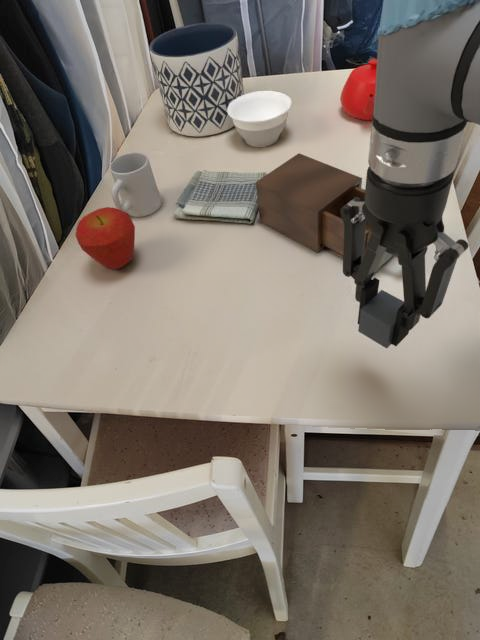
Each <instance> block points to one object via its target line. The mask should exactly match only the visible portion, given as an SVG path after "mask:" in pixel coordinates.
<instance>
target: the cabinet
mask: <svg viewBox="0 0 480 640" xmlns="http://www.w3.org/2000/svg"><path fill="white" fill-rule="evenodd" d="M362 183H363V177H360V176H358V175H355V174H353V173H350V172H348V171H345V170H343V169H340V168H338V167H335V166H333V165H330V164H327V163H325V162H323V161H320V160H318V159H315V158H312V157H309V156H308V155H305V154H302V153H297V154H295V155H294V156H292V157H290V158H289V159H288V160H286V161H285V162H283V163H282V164H280V165H278V166H277V167H276V168H274V169H273V170H271V171H269V172H268V173H267V175H266V176H264V177H263V178H261V179H260V180H258V181H257V182H256V190H257V199H258V215H259V222H260V223H261V224H263V225H265V226H267V227H268V228H270V229H273V230H274V231H276V232H277V233H280V234H282V235H284V236H285V237H287V238H289V239H291V240H292V241H295V242H297V243H298V244H301V245H303V246H304V247H305V248H307V249H310V250H311V251H313V252H315V253H320V252H321V251H322V250H323V249H325V248H326V246H324V245H322V244H320V239H321V213H322V212H323V211H324V210H326V209H327V208H328V207H330V206H331V205H332V204H334V203H335V202H336V201H337V200H339V199H340V198H341V197H343V196H344V195H345V194H347V193H348V192H349V191H350V190H352V189H353V188H354V187H356V186H357V187H359V188H362V185H363V184H362Z"/></svg>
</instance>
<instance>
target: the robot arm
mask: <svg viewBox="0 0 480 640" xmlns="http://www.w3.org/2000/svg"><path fill="white" fill-rule="evenodd" d="M382 2H383V3H382V9H381V16H380V22H379V27H378V29H377V53H376V59H377V70H376V88H375V102H374V109H373V117H372V120H371V126H370V137H369V148H368V149H369V150H368V158H367V159H368V161H367V163H368V167H367V170H366V177H365V189H364V190H365V202H362V200H361V199H360V198H359V197H355V198H354V199H352V200H351V201H350V202H349V203H347V204H346V205H345V206H344V207H342V208H341V209H340V213H341V216H342V220H343V223H344V246H343V255H342V273H343V275H344V276H345V277H347V278H350V277H351V278H352V279H353V281H354V284H355V294H354V298H355V301H356V302H358V303H359V305H358V306H359V307H358V318H357V324H358V325H359V320H360V310H361V309H362V308H363V307H364V306H365V305H366V304H367V303H368V302H369V301H370V300H371V299H372V298H373V297H374V296H375V295H377V294H378V293H379V287H380V281H381V280H380V279H379V278H377V277H375V276H376V274H378V272H379V271H378V270H377V268H378V266H379V264H380V262H381V259H382V257H383V255H384V253H385V251H386V248H389V249H392V250H394V251H395V252H396V253H398V257H397V261H398V265H399V266H401V277H402V278H401V279H402V292H403V301H404V304H403V305H402V306H401V307H400V308H399V309H398V311H397V316H396V321H395V327H394V332H393V337H392V341H391V345H392V346H394V347H397V346H398V345H399V344H400V343H402V341H403V340H404V339H406V337H407V336H408V335H409V333H410V331H411V330H412V329H414V327H416V325H417V324H418V323H419V322H420V319H421V317H422V318H424V319H429V318H431V317H432V316H433V315H434V313H436V311H437V310H438V309H439V308H440V307H441V306H442V305H443V303H444V300H445V297H446V294H447V290H448V288H449V285H450V282H451V279H452V276H453V273H454V270H455V267H456V265H457V261H458V259H459V258H460V257H461V256H462V255H463V254H464V253H465V252H466V251H467V250H468V248H469V243H468V242H467V240H465V239H457V240H456V241H455V240H454V239H452V237H450V236H449V235H448V234H446V233H445V225H444V221H443V215H444V212H445V209H446V207H447V203H448V200H449V196H450V195H449V194H450V192H451V187H452V183H453V180H454V176H455V175H454V170H455V169H456V167H457V165H458V161H459V158H460V153H461V150H462V149H461V148H462V144H463V139H464V136H465V132H466V127H467V124H468V123H471V124H472V123H473V124H476V125H479V126H480V0H383V1H382ZM366 221H367V223H368V225H369V227H370V229H371V232H372V233H371V236H370V238H369V241H368V243H367V246H366V247H367V250H366V253H365V255H364V258H363V254H364V241H365V229H366ZM432 244H433V245H434V246H435V251H434V256H433V259H434V260H435V263H434V264H433V266H432V269H431V271H430V275H429V279H428V282H427V283H426V280H427V279H426V254H427V253H428V247H429V246H431V245H432ZM426 284H427V285H426Z"/></svg>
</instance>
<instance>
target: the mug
mask: <svg viewBox="0 0 480 640" xmlns="http://www.w3.org/2000/svg"><path fill="white" fill-rule="evenodd" d="M109 170H110V172H111V176H112V178H113V181H114V184H113V185H112V187H111V198H112V201H113V203H114V206H115V208H116V209H119V210H121V211H124V212H126V213H128V215H129V216H131V217H134V218H143V217H147V216H150V215H153V214H154V213H155V212H157V211H158V210H159V209H160V207H161V206H162V203H163V202H162V197H161V195H160V191H159V188H158V186H157V182H156V178H155V176H154V172H153V170H152V166H151V163H150V159H149V157H148V156H147V155H146V154H145V153H142V152H128V153H125V154H122V155H119V156H118V157H116V158H114V159H113V161H111V163H110V165H109ZM120 199H121V201H120ZM121 202H122V204H123V205H122V204H121Z"/></svg>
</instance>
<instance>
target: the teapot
mask: <svg viewBox="0 0 480 640" xmlns="http://www.w3.org/2000/svg"><path fill="white" fill-rule="evenodd" d="M376 70H377V58H373V59H369V60H368V63H367V64H363V65H359V66H357V67H355V68H354V69H352V70H351V72H350V74H349V75H348V76H347V79H346V81H345V83H344V85H343V87H342V90H341V93H340V104H341V109H342V110H343V111H344V112H345V113H346V114H348V115H349V116H350V117H352V118H355V119H357V120H362V121H372V117H373V109H374V102H375V88H376Z"/></svg>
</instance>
